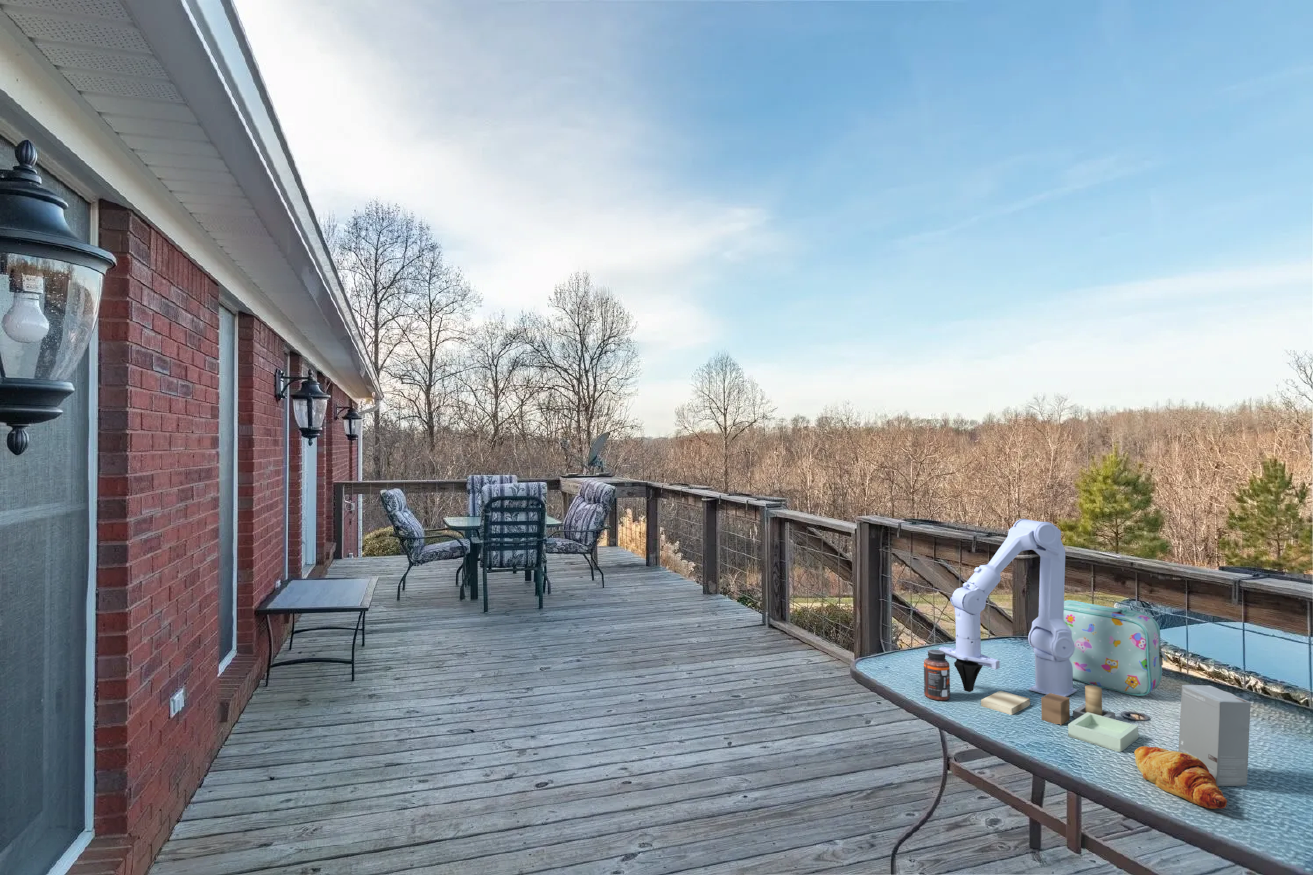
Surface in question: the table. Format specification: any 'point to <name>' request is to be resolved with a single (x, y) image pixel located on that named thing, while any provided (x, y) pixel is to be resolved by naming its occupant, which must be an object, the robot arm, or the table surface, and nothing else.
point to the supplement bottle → (936, 676)
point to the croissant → (1180, 775)
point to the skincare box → (1216, 732)
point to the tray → (1103, 731)
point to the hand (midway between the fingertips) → (968, 690)
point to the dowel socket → (1082, 711)
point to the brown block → (1055, 708)
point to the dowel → (1093, 699)
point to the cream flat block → (1005, 702)
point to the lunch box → (1115, 647)
